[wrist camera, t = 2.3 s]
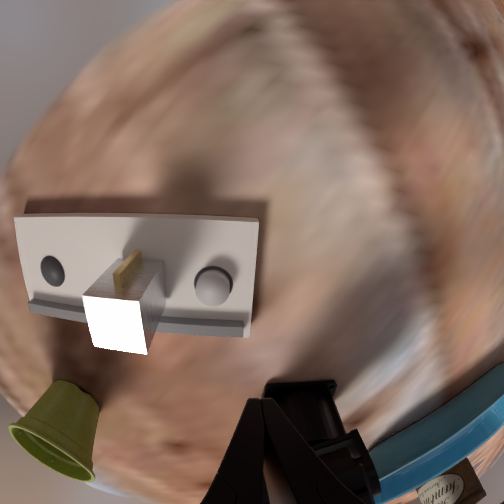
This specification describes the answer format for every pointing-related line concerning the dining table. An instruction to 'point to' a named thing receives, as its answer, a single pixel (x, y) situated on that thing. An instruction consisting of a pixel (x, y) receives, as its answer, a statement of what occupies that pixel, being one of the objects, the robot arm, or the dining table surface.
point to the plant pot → (61, 431)
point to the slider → (126, 304)
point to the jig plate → (153, 248)
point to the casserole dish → (440, 438)
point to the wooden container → (453, 486)
